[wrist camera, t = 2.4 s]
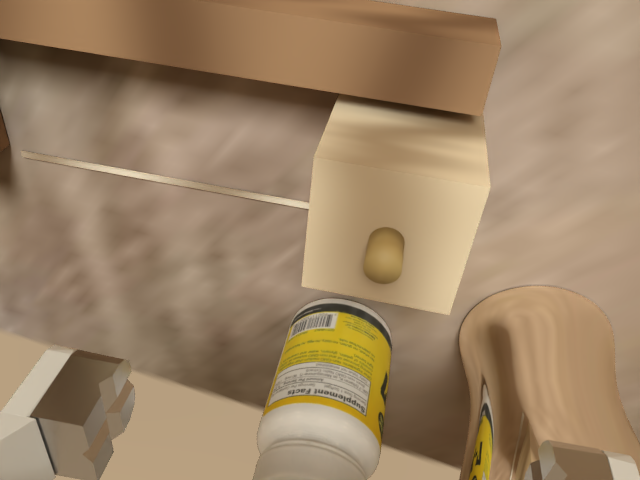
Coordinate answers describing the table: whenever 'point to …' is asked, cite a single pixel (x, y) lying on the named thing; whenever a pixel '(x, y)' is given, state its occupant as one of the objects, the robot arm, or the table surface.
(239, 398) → the table surface
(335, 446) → the supplement bottle
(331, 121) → the block
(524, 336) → the beer glass
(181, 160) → the table surface
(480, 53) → the fence board
